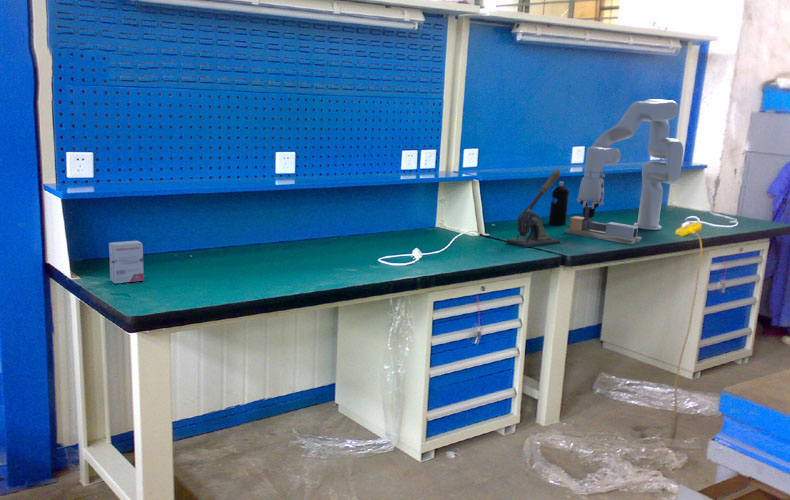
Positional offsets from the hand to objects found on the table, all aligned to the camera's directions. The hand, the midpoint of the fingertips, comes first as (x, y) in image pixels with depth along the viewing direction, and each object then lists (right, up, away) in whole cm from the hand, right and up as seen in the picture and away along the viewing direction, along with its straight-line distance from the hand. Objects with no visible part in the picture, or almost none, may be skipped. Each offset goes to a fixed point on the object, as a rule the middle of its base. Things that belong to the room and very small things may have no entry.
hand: (588, 216), depth 322 cm
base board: (+6, -9, -3) cm, 11 cm away
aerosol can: (-9, -3, +21) cm, 23 cm away
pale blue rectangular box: (+12, -9, -8) cm, 17 cm away
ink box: (-164, -24, -108) cm, 198 cm away
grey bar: (+3, -6, -1) cm, 7 cm away
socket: (-4, -5, +4) cm, 8 cm away
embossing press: (-28, -12, -24) cm, 39 cm away
